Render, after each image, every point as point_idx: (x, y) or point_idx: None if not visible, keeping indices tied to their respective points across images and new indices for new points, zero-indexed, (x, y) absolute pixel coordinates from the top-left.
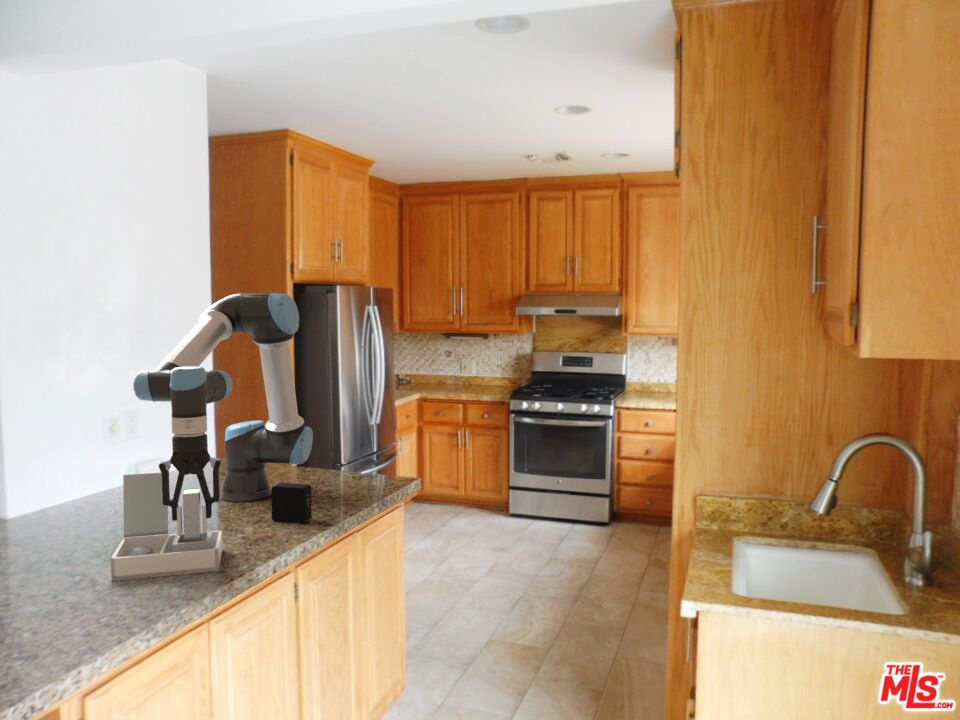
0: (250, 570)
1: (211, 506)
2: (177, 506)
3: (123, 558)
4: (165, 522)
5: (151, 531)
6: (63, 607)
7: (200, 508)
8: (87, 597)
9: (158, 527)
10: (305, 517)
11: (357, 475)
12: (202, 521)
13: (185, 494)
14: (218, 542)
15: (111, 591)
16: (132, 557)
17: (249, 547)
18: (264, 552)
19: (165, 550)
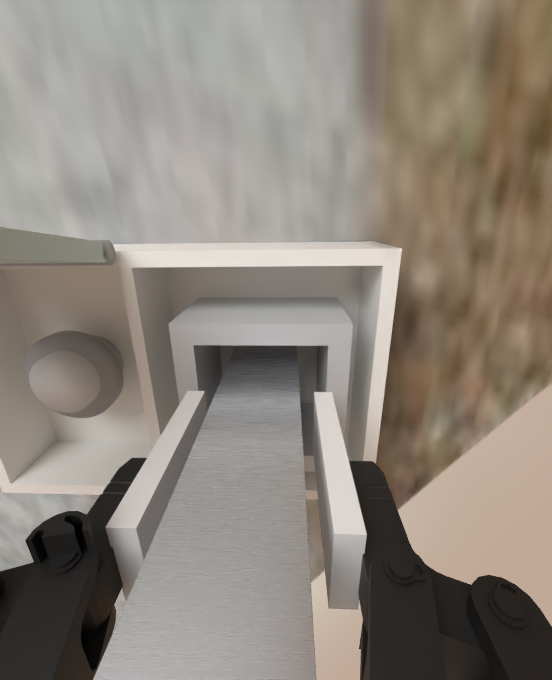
0: (448, 462)
1: (402, 538)
2: (119, 582)
3: (45, 490)
4: (59, 261)
5: (18, 264)
6: (24, 548)
7: (304, 485)
8: (49, 515)
9: (39, 262)
10: None
11: None
12: (317, 495)
13: None
14: (375, 430)
15: (91, 499)
16: (73, 491)
17: (487, 232)
18: (531, 313)
19: (164, 411)
